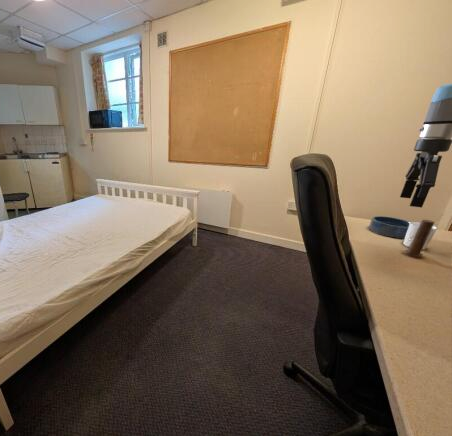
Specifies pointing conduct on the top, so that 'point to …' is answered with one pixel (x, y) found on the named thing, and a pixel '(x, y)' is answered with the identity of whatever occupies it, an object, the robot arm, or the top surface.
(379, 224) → the bowl
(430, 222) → the wooden masher
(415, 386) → the top surface
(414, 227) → the white cup
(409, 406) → the top surface
